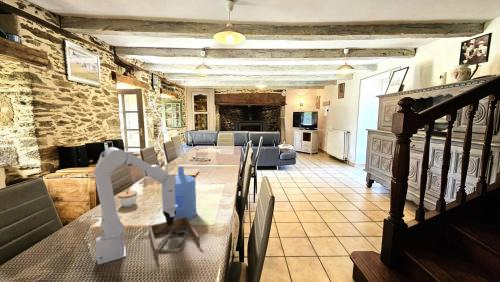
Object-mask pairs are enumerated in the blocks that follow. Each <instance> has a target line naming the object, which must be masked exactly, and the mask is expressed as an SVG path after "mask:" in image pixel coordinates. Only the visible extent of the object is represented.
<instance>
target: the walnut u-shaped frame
mask: <svg viewBox="0 0 500 282" xmlns="http://www.w3.org/2000/svg"><path fill="white" fill-rule="evenodd" d="M184 227H185V229H186V230H187V232H188V234H189V235H190V237H191V238H192V240H193V241H194V243H195V245H196V247H201V243H200V237H201V236H200V235H199V233H198V232H197V231H196V229H195V227H194V225H192V223H191V221H190V219H188V218H187V217H183V218H179V219H175V220H173V225H171V226H168V225H167V222H166V221H161V222H159V223H154V224H151V225H148V238H149V240H150V244H151V248H152V252H153V255H154V260H156V261H157V260H159V251H158V248H157V246H158V244H157V241H156V238H155V235H157V234H160V233H165V232H169V231H170V230H173V231H174V230H177V229H180V228H184Z"/></svg>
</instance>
